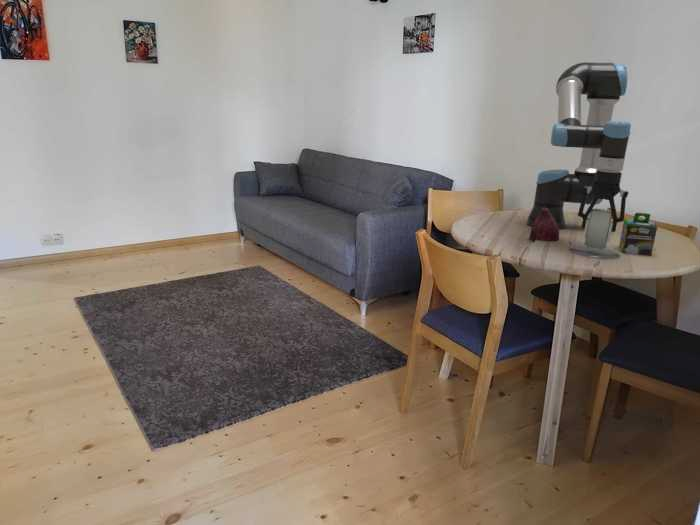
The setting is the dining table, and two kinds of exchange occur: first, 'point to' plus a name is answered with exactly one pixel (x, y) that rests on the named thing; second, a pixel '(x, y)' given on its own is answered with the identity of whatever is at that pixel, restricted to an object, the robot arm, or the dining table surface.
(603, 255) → the dish
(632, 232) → the chalk box
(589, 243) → the grey-green rectangular block
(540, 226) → the vegetable
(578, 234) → the dining table surface
